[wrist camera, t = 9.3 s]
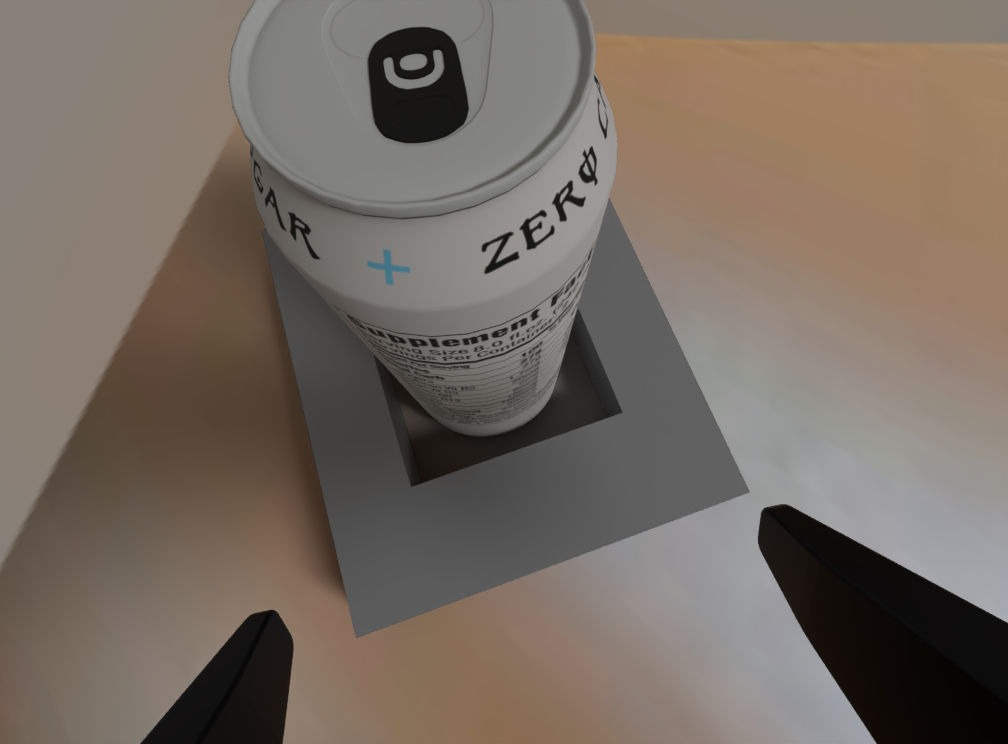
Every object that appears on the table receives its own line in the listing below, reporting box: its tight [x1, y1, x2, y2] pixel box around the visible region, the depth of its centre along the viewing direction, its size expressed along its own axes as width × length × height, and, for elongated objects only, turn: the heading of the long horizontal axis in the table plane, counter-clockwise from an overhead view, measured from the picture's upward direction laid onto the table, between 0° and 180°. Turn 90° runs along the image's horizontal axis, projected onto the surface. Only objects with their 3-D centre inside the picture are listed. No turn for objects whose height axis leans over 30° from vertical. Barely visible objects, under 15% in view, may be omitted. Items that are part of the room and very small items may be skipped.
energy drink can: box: [228, 0, 618, 437], centre depth 14 cm, size 6×6×15 cm
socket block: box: [262, 199, 749, 638], centre depth 20 cm, size 16×14×2 cm
